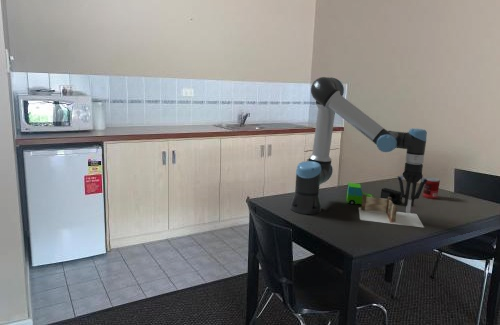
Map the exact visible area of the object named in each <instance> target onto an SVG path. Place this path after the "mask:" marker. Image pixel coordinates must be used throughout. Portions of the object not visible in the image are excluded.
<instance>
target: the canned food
mask: <svg viewBox="0 0 500 325" xmlns="http://www.w3.org/2000/svg"><path fill="white" fill-rule="evenodd" d="M425 178H426V179H427V182H426V183H425V184H424V186H423V190H422V192H423V193H422V196H423V198H426V199H430V200H436V199H438V195H439V190H440V183H441V182H440V181H441V180H440V179H439V178H437V177H430V176H428V177H425Z"/></svg>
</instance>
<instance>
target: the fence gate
mask: <svg viewBox="0 0 500 325" xmlns="http://www.w3.org/2000/svg"><path fill="white" fill-rule="evenodd" d="M397 210H398V205H397V206H396V205H395V204H393V203H392V201H391V200H389V205H388V214H389V216H390V217H391V221H392V222H395V220H396V212H398V211H397Z"/></svg>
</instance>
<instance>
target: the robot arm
mask: <svg viewBox="0 0 500 325" xmlns="http://www.w3.org/2000/svg"><path fill="white" fill-rule="evenodd" d="M344 87H345V86H344V84H343V82H342V81H340V80H339V79H338V78H335V77H329V76H328V77H325V76H322V77H318V78H317V79H315V80H314V81H313V83H312V84H311V86H310V94H311V96H312V97H313V99H314V100H315V105H316V107H317V116H316V123H315V131H314V138H313V146H312V154H311V155H309V157H308V160H307V161H302V162H300V163H298V164H297V166H296V173H295V174H296V175H295V187H294V188H295V189H294V190H295V191H294V195H293V197H292V200H291V202H290V207H289V208H290V210H291V211H293V212H294V213H297V214H301V215H316V214H319V213H321V211H322V204H321V199H320V196H319V194H320V185H322V184H324V183H326V182H328V181H329V180H330V178H331V177H332V175H333V170H334V169H333V166H332V160H333V159H332V158H331V157H330V152H331V145H332V138H333V132H334V131H333V130H334V123H335V115H338V116H339V117H341V118H342V119H343V120H345V121H346V122H347V123H348V124H349V125H350V126H351V127H354V128H355V129H356V130H357V131H358V132H360V133H361V134H362V135H363V136H365V137H366V138H367V139H369V141H371V142H372V143H373V144H375V145H376V147H377V149H378V150H379V151H380V152H382V153H389V152H390V153H391V152H392V151H393V150H396V149H403V150H406V154H405V163H404V168H403V169H404V170H403V173H402V174H401V175H398V176H397V179H398V183H399V192H401V196H402V199H404V202H403V203H404V204H403V205H404V206H405V213H411V210H412V208H411V207H413V206H414V204H415V200H418V199H420V196H421V194H422V192H423V190H424V184H425V183H426V182H427V179H426V178H427V177H424V175H423V167H424V165H423V163H424V160H425V159H424V158H425V151H426V144H427V136H428V135H427V132H428V131H427V130H426V129H423V128H409V130H408V132H404V131H403V132H402V131H394V130H387V129H385V127H383V126H381V125H380V124H379V123H378V122H377V121H375V120H374V119H372V118H371V117H370V116H369V115H367V114H366V113H365V112H364V111H362V110H361V109H359V108H358V107H357V106H356V105H355V104H353V103H352V102H350V101H349V100H348V99H346V98H345V97H344V94H345V88H344ZM403 180H405V182H406V185H405V189H404V183H403ZM419 181H420V183H419V186H418V188H417V185H418V184H417V183H418V182H419ZM411 184H412V185H411ZM410 188H411V191H410ZM416 189H417V191H416ZM404 190H405V191H404ZM410 192H411V193H410Z"/></svg>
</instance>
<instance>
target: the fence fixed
mask: <svg viewBox="0 0 500 325" xmlns="http://www.w3.org/2000/svg"><path fill="white" fill-rule="evenodd" d="M366 194H367V193H366ZM366 194H363V196H362V204H360V205H361V206H360V208H361V210H363V211H364V210H365V209H367V210H376V211H384V212H386V213H388V205H389V200H392V197H388V199H384V198H381V197H374V196H373V197H366ZM365 203H366V204H365Z"/></svg>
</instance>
